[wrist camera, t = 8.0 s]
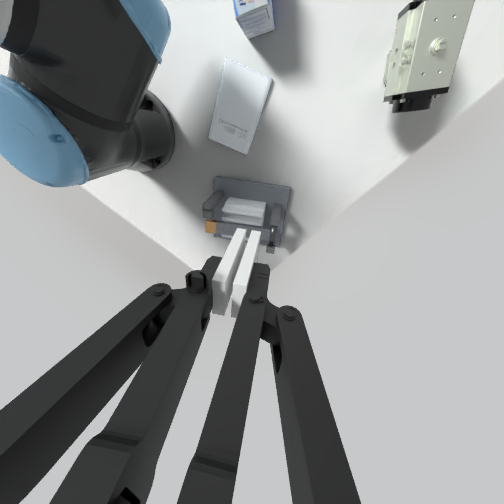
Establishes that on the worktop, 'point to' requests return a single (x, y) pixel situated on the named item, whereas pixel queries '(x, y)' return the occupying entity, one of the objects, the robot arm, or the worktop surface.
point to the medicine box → (254, 16)
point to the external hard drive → (238, 106)
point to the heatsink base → (255, 195)
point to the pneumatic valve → (424, 52)
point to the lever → (230, 228)
